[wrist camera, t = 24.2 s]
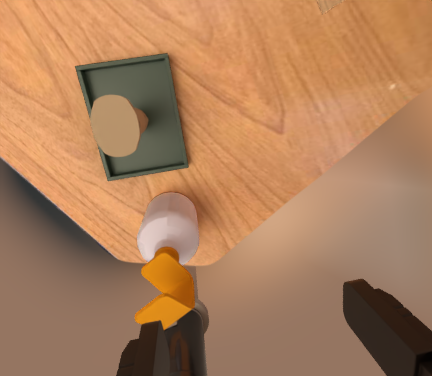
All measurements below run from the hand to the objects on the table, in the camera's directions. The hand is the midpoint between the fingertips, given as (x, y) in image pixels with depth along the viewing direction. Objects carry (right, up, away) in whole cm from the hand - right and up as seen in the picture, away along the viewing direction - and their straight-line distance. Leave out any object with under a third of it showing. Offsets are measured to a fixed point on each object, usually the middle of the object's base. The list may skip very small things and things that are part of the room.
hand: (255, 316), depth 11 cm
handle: (-14, +16, +31) cm, 38 cm away
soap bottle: (-10, +1, +37) cm, 38 cm away
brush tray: (-14, +16, +31) cm, 38 cm away
